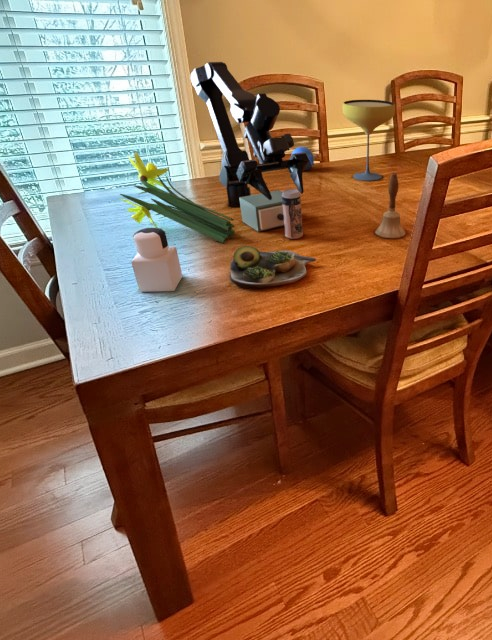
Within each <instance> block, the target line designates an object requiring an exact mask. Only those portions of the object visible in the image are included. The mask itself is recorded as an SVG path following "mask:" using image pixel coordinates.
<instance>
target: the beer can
mask: <svg viewBox="0 0 492 640" xmlns="http://www.w3.org/2000/svg"><path fill="white" fill-rule="evenodd" d="M282 192H283V193H282V203H283V215H284V226H283V227H284V236H285V237H286V238H288V239H290V240H298V239H300V238H302V237H303V236H304V233H303V217H302V202H301V201H302V200H301V196H302V194H301V193H300V192H299V190H298V189H297V188H287V189H285V190H282Z"/></svg>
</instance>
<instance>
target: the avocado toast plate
mask: <svg viewBox="0 0 492 640" xmlns="http://www.w3.org/2000/svg"><path fill="white" fill-rule="evenodd" d="M316 261H317V258H316V257H311V256H305V255H300V254H299V253H297V252H294V251H291V250H275V251H260V250H258V249H257V248H255V247H254V246H250V245H244V246H240V247H239V248H237V249H236V250H235V251H234V254H233V257H232V260H231V261H230V265H229V269H230V275H229V278H230V281H231V283H233V284H235V285H236V286H238V287H240V288H242V289H265V288H274V287H279V286H284V285H288V284H294V283H296V282H298V281H300V280H301V279H303V278H304V277H305V276H306V275H307V268H306V265H307V264H309V263H313V262H316Z"/></svg>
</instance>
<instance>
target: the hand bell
mask: <svg viewBox="0 0 492 640" xmlns="http://www.w3.org/2000/svg"><path fill="white" fill-rule="evenodd" d="M387 186H388V187H387V189H388V195H389V202H388V210H387V211H385V212H383V214H382V219H381V221H380V224H379V226H378V227H377V228H376V229H375V230H374V232H375V235H376V236H378V237H380V238H383V239H391V240H392V239H400V238H403V237H405V235H406V230H405V229H404V228H403V226H402V224H401V215H400V213H399V212H398V211H396V197H397V196H398V192H399V179H398V173H396V172H393V173H392V172H391V174H390V178H389V180H388V185H387Z"/></svg>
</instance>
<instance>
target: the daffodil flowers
mask: <svg viewBox="0 0 492 640" xmlns="http://www.w3.org/2000/svg"><path fill="white" fill-rule="evenodd" d="M127 158H128V160H129V162H130V163H131V165H132V167H134V168H135V170H137V171H138V177H137V178H138V180H139V182H140V183H141V184H142V186H141V185H133V187H135V188H136V189H139V190H140V191H142V192H139V193H137V194H136V196H138V195H143V194H146V193H148V194H150V195H153V196H155V197H156V198H158V199H159V201H158V200H157V199H154V198H150V200H151V201H152V202H153V203H150V202H147V201H144V200H142V199H139V198H136V197H133V196H130V195H127V194H123V193H119V195H120V196H121V197H123V198H118V197H117V199H118V200H120V201H123V202H124V203H128V204H130V205H132V206H133V207H129V208H128V209H126V212H129V213H134V214H132V215H131V216H130V218H131V219H133V220H134V221H136V223H138V224H139V225H140V224H142V223H141V222H142V221H143V219H144V218H145V216H146V217H147V218H148V219H149V222H150V223H151V224H153V225H154V228H159V227H158V226H157V224H156V223H155V221H153V218H152V214H151V212H150V211H152V212H154V213H156V214H155V216H160V215H161V217H159V218H158V219H159V220H160V219H163V218H164V219H165V218H167V219H169V220H172V221H174V222H176V223H178V224H180V225H182V226H184V227H187V228H188V229H191V230H193V231H195V232H197V233H199V234H202V235H204V236H206V237H208V238H210V239H212V240H215V241H217V242H218V243H221V244H224V243H225V242H226V240H227V238H231V239H232V237H233V235H234V234H235V232H236V230H235V229H233V228H235V227H236V226H235V224H233V223H231V221H234V220H235V219H234V218H232V217H230V216H227V215H225V214H222V213H220V212H218V211H215V210H213V209H210V208H209V207H206V206H203V205H200V204H198V203H195V202H194V201H192V200H191V199H189V198H188V197H187V196H185V195H184V194H182V193H181V192H180V191H178V190H177V189H176V188H175V187H174V186H173V185H172V183H171V182H170V179H169V178H168V176H167V174H166V173H167V172H169V170H170V169H169V168H161V169H160V168H159V169H158V167H157V165H155V163H153V162H147V164H146V165H145V163H144V162H143V160H142V157H140V155H139V153H138V151H136V150H135V152H134V160H133V158H131V157H130V156H128V155H127ZM164 174H165V179H166V181H167V183H168V185H169V186H167V185H166V183H165V182H164V181H163V180H162V178H161V177H160V176H162V175H164ZM157 178H158V179H157ZM156 185H157V186H160V187H164V189H165V190H167V191H165V190H164V189H161V188H160V187H157V186H156ZM172 190H173V191H172ZM160 200H161V201H163V202H164V203H163V202H161V201H160ZM165 203H166V204H165Z"/></svg>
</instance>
